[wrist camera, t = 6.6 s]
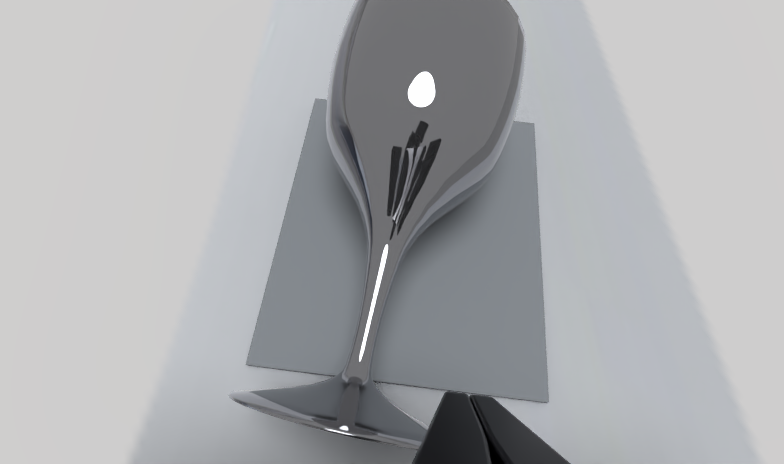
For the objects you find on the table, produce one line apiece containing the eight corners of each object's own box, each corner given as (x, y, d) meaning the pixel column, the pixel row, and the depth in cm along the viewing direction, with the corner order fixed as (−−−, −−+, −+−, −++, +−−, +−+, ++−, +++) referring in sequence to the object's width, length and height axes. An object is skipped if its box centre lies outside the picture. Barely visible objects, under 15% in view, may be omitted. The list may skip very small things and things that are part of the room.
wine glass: (539, 476, 10) (571, 29, 15) (200, 411, 8) (378, -80, 13) (411, 422, 17) (464, 133, 22) (219, 382, 15) (328, 73, 20)
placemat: (545, 402, 16) (548, 402, 15) (247, 365, 16) (245, 364, 16) (532, 127, 22) (534, 123, 21) (316, 102, 22) (315, 98, 22)
